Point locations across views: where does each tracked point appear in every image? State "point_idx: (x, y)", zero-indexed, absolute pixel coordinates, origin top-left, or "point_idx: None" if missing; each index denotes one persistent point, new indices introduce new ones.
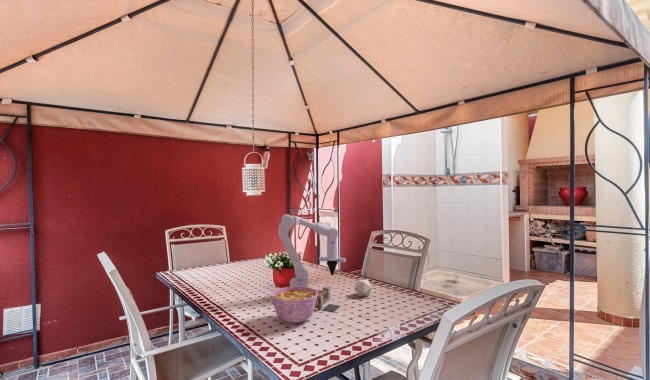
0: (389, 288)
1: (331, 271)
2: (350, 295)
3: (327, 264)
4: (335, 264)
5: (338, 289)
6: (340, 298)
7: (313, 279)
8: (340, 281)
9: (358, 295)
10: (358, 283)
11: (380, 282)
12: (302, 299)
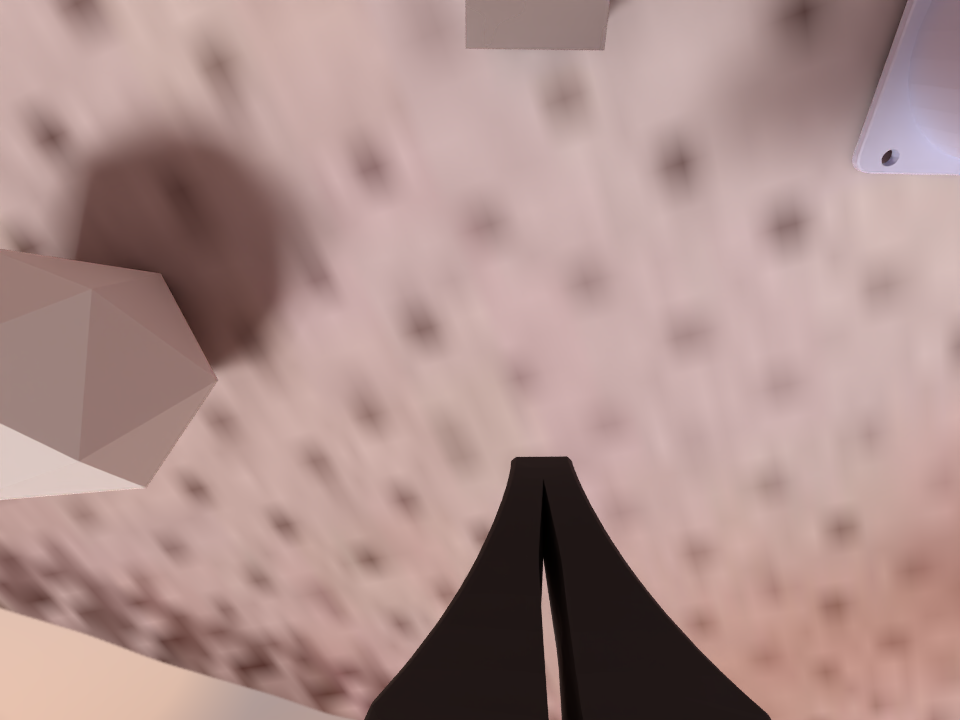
0: (54, 567)
1: (553, 510)
2: (273, 282)
3: (732, 697)
4: (371, 715)
5: (504, 439)
6: (337, 113)
7: (867, 641)
8: None
9: (151, 275)
10: (39, 369)
11: (216, 667)
12: None
